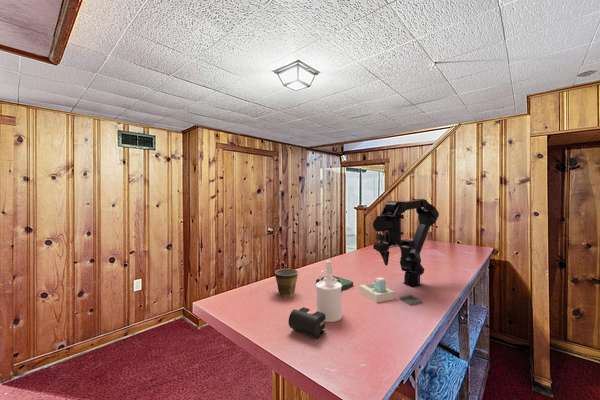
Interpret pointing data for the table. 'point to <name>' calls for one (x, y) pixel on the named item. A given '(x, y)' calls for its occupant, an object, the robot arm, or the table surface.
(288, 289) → the olive plant pot
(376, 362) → the table surface
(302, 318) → the end cap
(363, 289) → the port block
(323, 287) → the white pump bottle
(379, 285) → the plug
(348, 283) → the disk drive
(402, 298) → the holster
